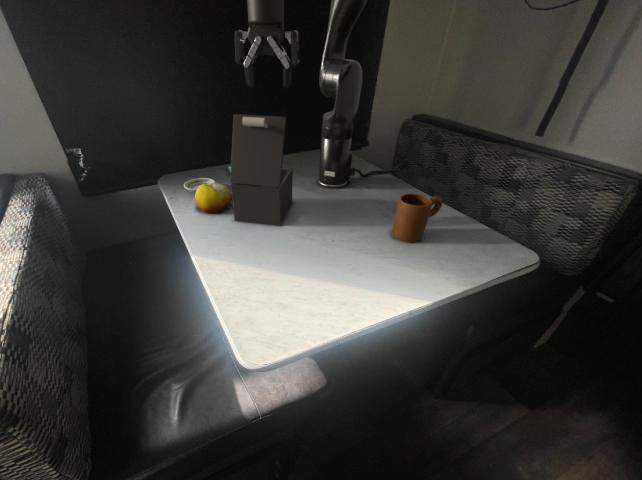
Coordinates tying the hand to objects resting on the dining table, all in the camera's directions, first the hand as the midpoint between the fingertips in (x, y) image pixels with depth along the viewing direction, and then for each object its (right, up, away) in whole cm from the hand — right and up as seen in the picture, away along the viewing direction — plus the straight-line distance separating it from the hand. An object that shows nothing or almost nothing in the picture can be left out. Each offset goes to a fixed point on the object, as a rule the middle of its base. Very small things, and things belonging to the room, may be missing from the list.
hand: (268, 87), depth 78 cm
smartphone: (-11, -7, +37) cm, 39 cm away
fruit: (-16, -23, +18) cm, 34 cm away
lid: (-3, -14, +2) cm, 15 cm away
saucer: (-23, -16, +27) cm, 38 cm away
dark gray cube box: (-2, -25, +15) cm, 30 cm away
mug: (+36, -33, +6) cm, 50 cm away
